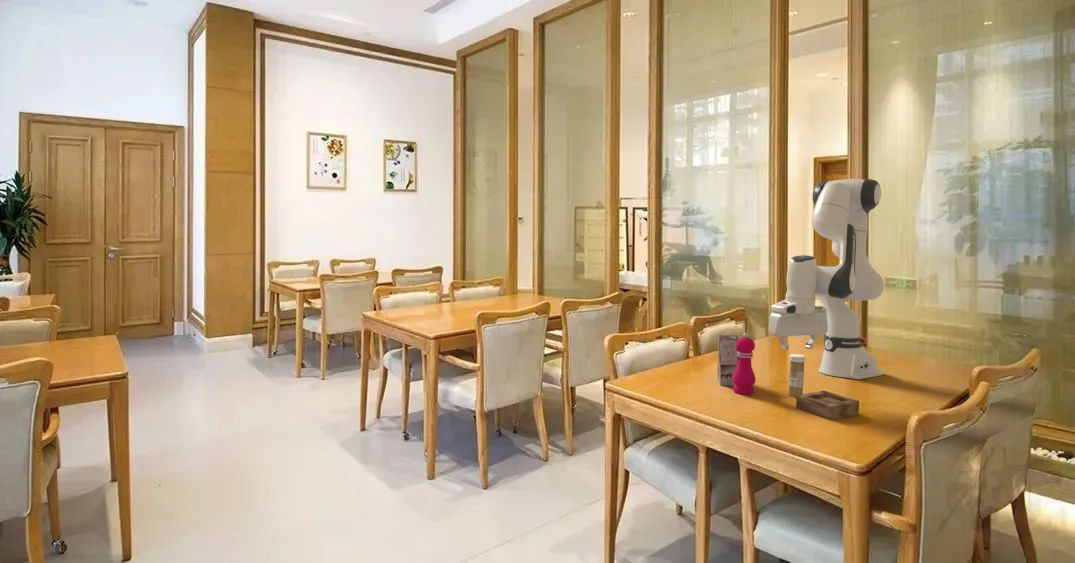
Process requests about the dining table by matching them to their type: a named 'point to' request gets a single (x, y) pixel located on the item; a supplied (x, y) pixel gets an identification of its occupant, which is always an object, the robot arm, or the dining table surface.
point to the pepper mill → (744, 366)
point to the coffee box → (727, 359)
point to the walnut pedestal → (827, 405)
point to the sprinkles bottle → (796, 375)
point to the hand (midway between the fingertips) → (797, 349)
